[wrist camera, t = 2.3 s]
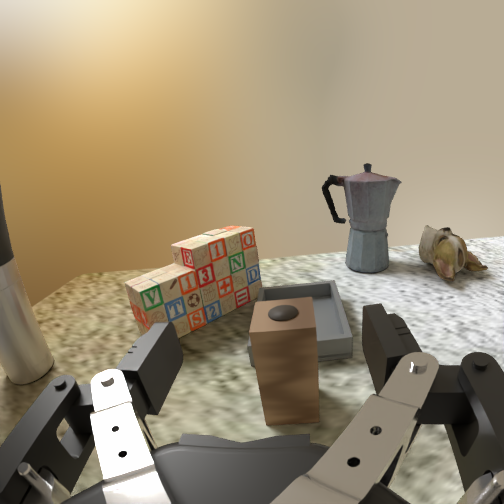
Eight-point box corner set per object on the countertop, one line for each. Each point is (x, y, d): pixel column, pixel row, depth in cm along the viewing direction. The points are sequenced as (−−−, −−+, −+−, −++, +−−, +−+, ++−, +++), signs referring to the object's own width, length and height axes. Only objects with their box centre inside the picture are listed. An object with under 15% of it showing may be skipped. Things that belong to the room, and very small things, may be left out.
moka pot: (406, 273, 52) (404, 163, 46) (326, 276, 57) (316, 168, 51) (399, 255, 60) (395, 160, 54) (329, 258, 65) (321, 165, 59)
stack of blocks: (157, 350, 41) (131, 270, 37) (140, 335, 46) (117, 262, 42) (264, 294, 54) (254, 226, 50) (241, 287, 59) (230, 223, 55)
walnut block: (266, 425, 26) (248, 330, 23) (269, 390, 31) (255, 300, 27) (319, 422, 25) (316, 325, 22) (316, 387, 30) (311, 295, 27)
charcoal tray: (251, 366, 35) (247, 346, 34) (261, 304, 50) (259, 287, 49) (351, 357, 33) (352, 336, 33) (335, 297, 48) (334, 280, 48)
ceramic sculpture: (444, 214, 54) (494, 236, 40) (442, 253, 57) (487, 281, 43) (405, 221, 54) (454, 247, 40) (404, 262, 57) (447, 296, 43)
